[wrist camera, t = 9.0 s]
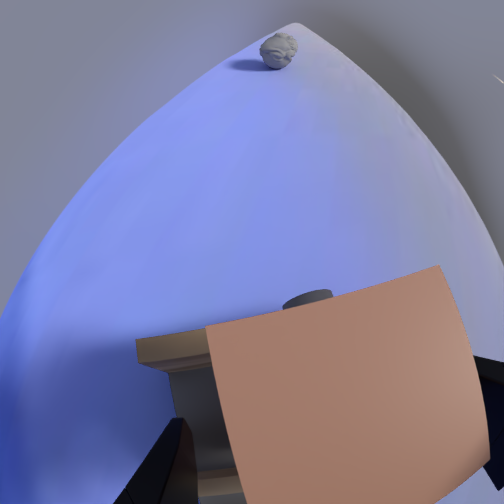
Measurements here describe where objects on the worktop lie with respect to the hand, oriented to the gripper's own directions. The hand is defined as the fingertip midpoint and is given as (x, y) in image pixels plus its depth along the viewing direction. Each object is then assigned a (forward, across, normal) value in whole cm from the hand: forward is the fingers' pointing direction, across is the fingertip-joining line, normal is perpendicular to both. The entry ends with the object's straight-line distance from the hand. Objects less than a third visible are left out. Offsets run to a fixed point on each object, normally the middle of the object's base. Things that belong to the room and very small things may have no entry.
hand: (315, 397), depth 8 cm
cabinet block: (+5, 0, +6) cm, 8 cm away
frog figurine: (+39, -13, -26) cm, 49 cm away
